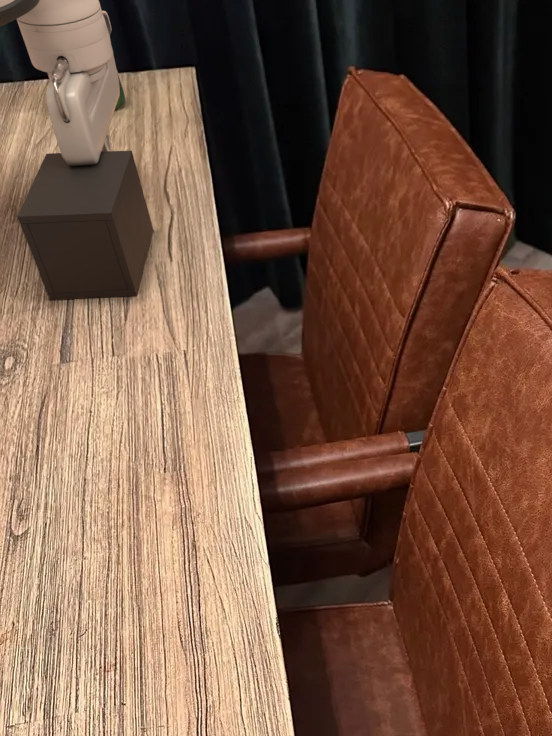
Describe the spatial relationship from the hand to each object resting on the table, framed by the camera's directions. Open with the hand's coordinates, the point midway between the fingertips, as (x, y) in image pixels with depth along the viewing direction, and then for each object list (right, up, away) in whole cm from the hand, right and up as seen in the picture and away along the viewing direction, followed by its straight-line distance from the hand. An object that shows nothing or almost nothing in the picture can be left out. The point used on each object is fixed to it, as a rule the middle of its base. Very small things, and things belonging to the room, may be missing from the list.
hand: (107, 168), depth 106 cm
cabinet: (+1, -13, -4) cm, 14 cm away
